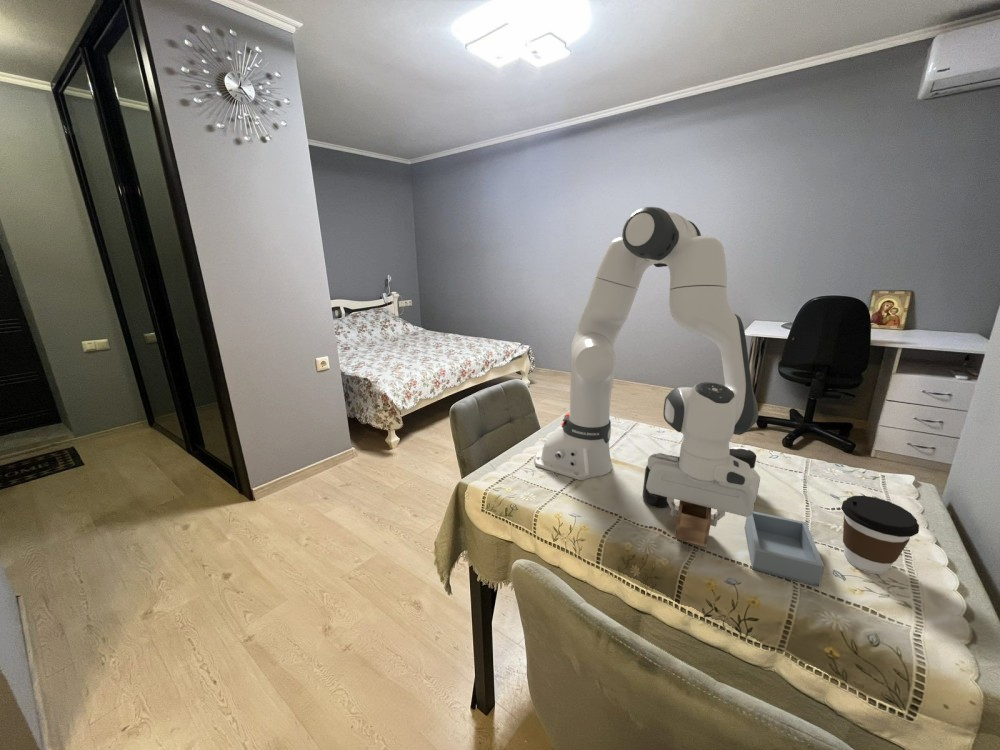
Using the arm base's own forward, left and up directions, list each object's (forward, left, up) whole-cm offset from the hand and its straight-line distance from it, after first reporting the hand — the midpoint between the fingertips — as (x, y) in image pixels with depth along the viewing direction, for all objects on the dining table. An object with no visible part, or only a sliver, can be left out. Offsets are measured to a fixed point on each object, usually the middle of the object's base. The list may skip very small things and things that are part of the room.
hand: (692, 519), depth 87 cm
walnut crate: (0, -1, -2) cm, 2 cm away
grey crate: (+16, +1, -4) cm, 17 cm away
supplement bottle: (-8, +11, -5) cm, 14 cm away
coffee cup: (+31, +5, -5) cm, 32 cm away
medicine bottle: (+10, +22, -5) cm, 25 cm away
